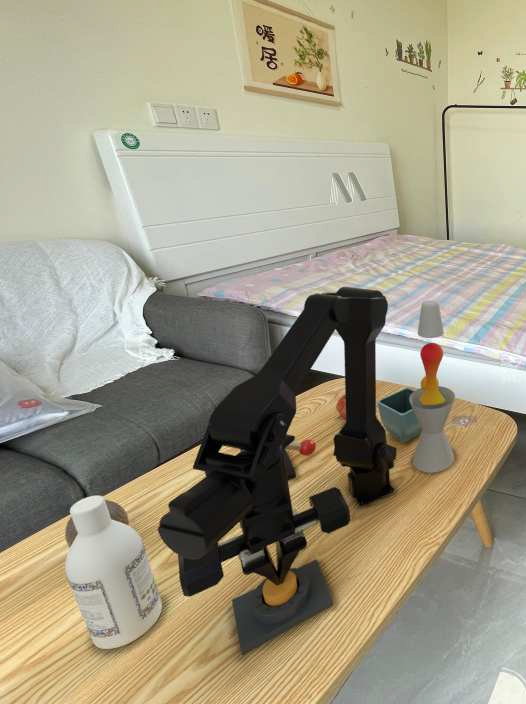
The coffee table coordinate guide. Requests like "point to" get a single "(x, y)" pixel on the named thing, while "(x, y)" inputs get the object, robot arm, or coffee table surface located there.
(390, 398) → the flower pot
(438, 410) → the lava lamp
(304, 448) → the lever
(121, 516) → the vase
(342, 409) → the pomegranate
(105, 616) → the bath foam
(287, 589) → the button
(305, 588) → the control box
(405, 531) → the coffee table surface
